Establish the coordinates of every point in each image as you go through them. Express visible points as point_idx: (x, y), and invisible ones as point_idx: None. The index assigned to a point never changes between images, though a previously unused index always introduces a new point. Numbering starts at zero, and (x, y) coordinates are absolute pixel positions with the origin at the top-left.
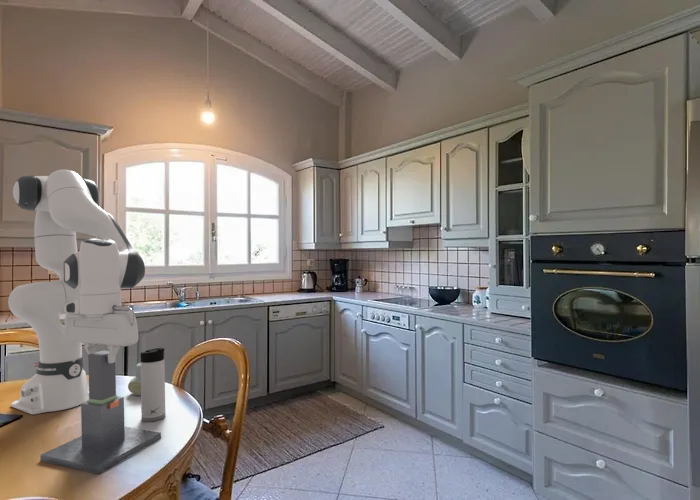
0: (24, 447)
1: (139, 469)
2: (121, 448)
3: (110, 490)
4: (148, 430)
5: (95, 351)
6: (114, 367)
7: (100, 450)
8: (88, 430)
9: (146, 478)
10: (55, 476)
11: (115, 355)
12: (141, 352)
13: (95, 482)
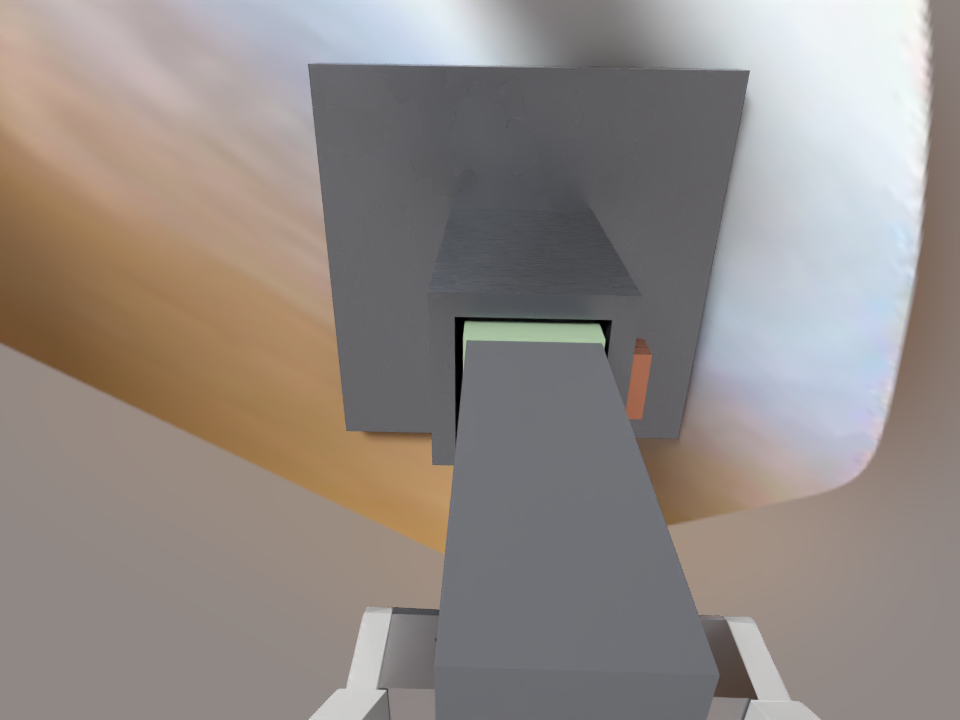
0: (144, 353)
1: (816, 357)
2: (654, 295)
3: (795, 480)
4: (650, 71)
5: (370, 717)
6: (653, 503)
7: None
8: None
9: (886, 397)
10: None
11: (782, 688)
12: None
13: (704, 461)
